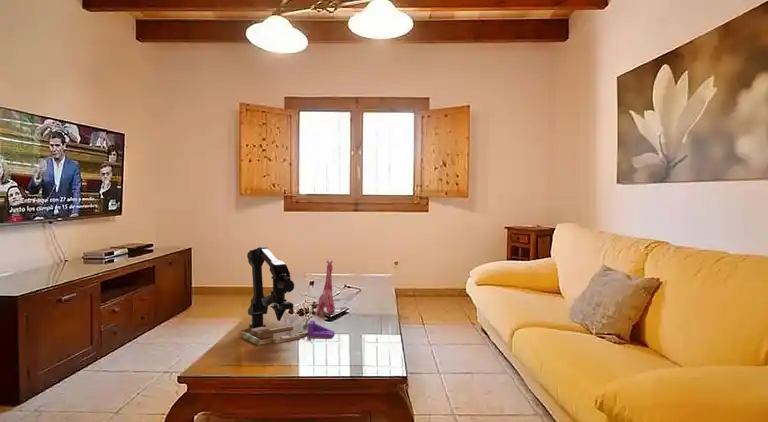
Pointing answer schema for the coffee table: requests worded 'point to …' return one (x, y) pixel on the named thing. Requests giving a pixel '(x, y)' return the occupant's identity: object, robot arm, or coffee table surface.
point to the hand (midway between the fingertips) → (278, 320)
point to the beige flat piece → (282, 338)
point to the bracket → (319, 331)
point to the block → (261, 333)
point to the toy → (327, 293)
